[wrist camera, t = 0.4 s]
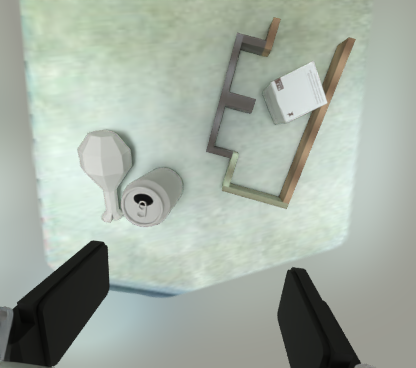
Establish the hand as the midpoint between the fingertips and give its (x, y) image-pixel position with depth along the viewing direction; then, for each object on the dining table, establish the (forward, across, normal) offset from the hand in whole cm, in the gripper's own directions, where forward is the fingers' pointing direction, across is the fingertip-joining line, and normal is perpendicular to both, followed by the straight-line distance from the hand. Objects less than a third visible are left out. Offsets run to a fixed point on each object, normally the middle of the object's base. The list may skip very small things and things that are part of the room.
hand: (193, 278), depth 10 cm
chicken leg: (+30, +20, +4) cm, 36 cm away
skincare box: (+30, -10, -13) cm, 34 cm away
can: (+30, +10, +4) cm, 31 cm away
